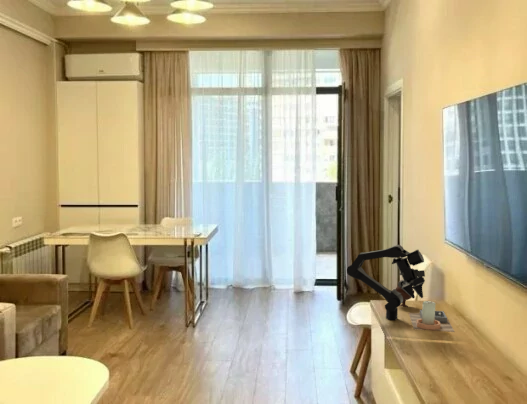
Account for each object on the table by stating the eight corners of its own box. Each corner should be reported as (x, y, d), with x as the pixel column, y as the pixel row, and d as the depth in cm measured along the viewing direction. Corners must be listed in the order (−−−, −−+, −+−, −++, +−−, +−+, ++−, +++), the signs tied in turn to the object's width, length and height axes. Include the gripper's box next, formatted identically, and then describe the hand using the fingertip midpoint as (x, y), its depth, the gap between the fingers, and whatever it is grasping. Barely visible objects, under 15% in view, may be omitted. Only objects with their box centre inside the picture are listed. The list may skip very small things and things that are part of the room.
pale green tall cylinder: (426, 322, 296) (427, 299, 294) (436, 325, 291) (437, 301, 290) (419, 324, 292) (420, 301, 290) (429, 327, 287) (431, 303, 286)
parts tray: (419, 314, 311) (419, 309, 311) (443, 316, 309) (443, 311, 309) (422, 321, 299) (422, 316, 299) (446, 322, 297) (447, 317, 297)
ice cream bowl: (393, 309, 324) (395, 282, 322) (393, 304, 335) (394, 277, 333) (413, 310, 322) (415, 283, 320) (412, 305, 333) (414, 279, 331)
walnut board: (408, 314, 314) (408, 312, 314) (445, 316, 311) (445, 314, 311) (413, 331, 286) (413, 329, 286) (454, 333, 283) (454, 331, 283)
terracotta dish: (415, 321, 298) (415, 318, 297) (438, 323, 296) (438, 319, 296) (417, 328, 287) (418, 324, 287) (441, 330, 285) (441, 326, 285)
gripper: (427, 261, 291) (440, 290, 290) (410, 264, 309) (422, 292, 308) (408, 270, 289) (421, 300, 287) (392, 272, 307) (404, 300, 305)
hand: (418, 297), depth 297 cm, fingers open, 9 cm apart
